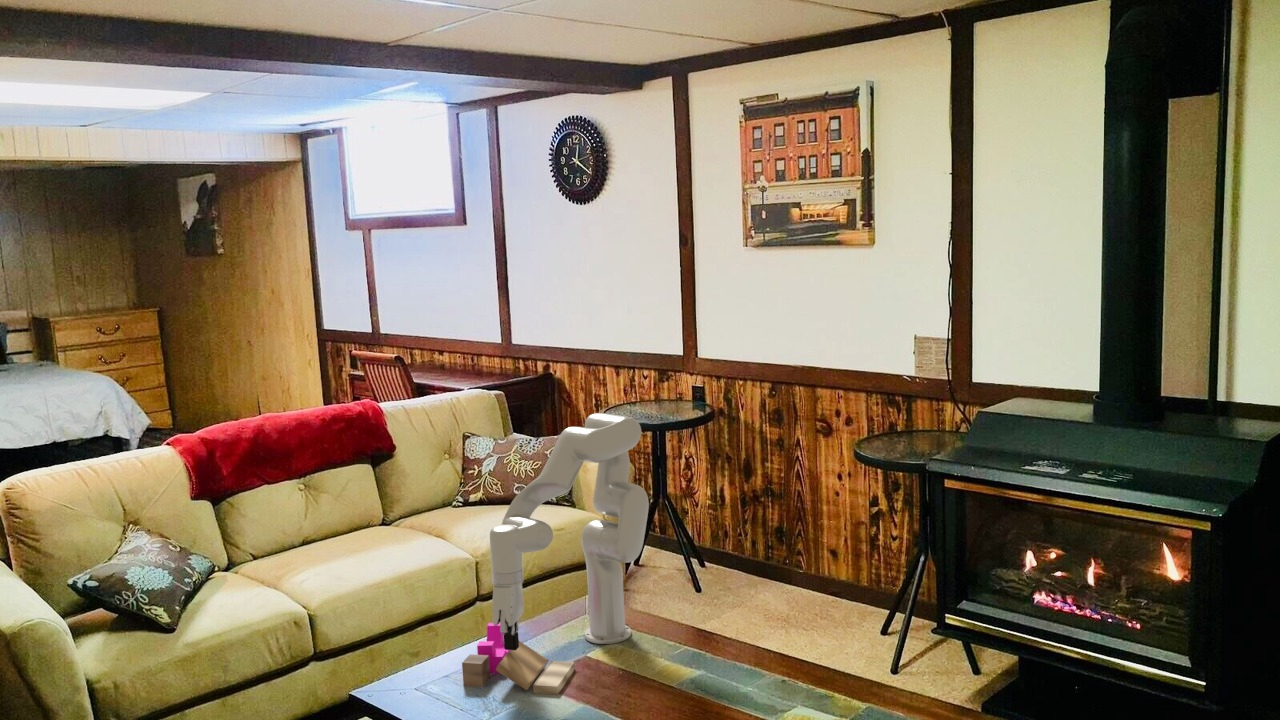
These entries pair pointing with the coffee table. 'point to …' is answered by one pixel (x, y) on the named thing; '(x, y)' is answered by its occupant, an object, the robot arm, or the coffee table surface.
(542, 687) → the laid board
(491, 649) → the toy block
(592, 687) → the coffee table surface
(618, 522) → the robot arm
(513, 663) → the plank
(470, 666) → the walnut block
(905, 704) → the coffee table surface
